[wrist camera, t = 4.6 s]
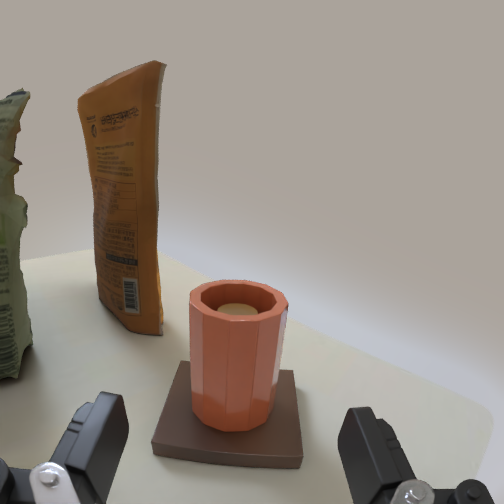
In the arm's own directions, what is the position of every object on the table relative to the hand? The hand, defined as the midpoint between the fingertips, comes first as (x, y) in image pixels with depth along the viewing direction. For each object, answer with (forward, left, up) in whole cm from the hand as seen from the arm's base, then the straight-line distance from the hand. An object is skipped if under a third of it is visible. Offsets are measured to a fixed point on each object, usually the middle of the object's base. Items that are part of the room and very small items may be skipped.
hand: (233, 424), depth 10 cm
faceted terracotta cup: (+4, -10, -9) cm, 14 cm away
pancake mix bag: (+24, -19, -10) cm, 32 cm away
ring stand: (+4, -10, -10) cm, 15 cm away
